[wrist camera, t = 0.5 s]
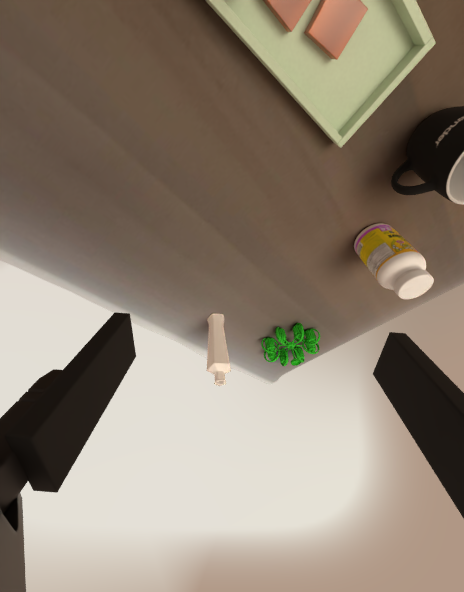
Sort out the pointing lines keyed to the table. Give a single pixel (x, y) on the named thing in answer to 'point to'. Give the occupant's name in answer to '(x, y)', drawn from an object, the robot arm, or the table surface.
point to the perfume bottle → (217, 349)
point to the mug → (436, 156)
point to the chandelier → (291, 345)
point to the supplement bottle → (393, 261)
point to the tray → (329, 72)
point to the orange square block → (335, 24)
